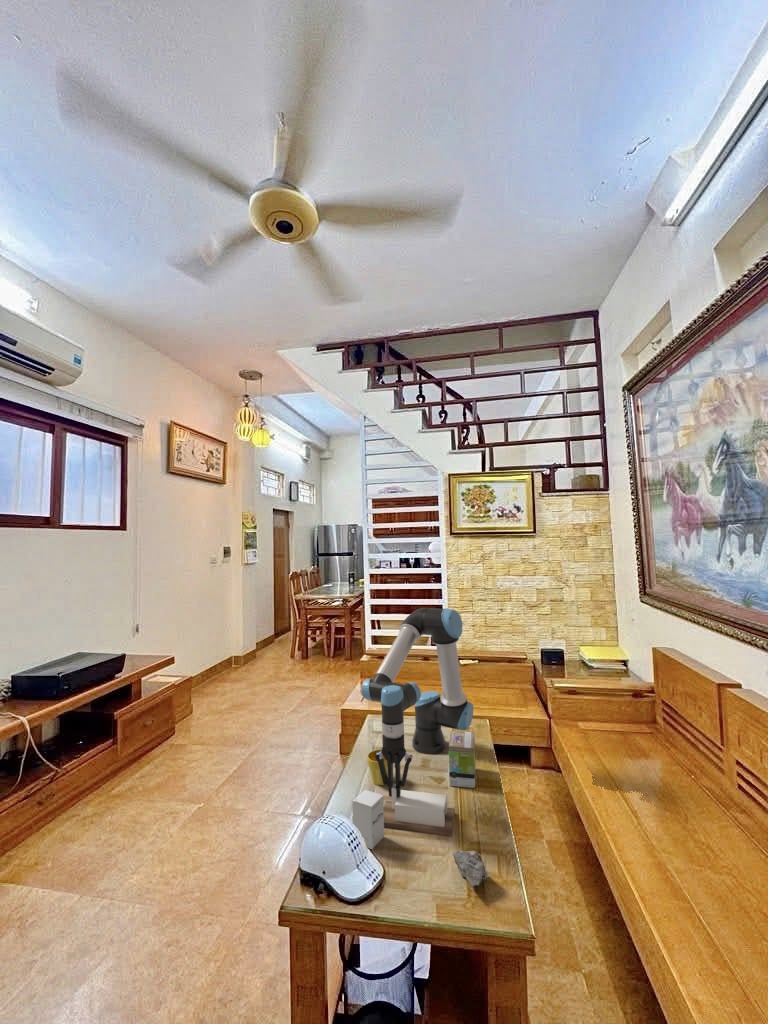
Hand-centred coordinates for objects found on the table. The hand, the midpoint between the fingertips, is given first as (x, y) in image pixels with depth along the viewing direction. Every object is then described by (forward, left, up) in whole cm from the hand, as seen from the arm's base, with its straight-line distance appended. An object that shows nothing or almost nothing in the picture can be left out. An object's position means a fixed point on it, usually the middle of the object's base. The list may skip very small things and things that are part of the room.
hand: (395, 806), depth 148 cm
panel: (0, +9, -2) cm, 9 cm away
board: (0, +7, -3) cm, 8 cm away
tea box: (-30, +20, -4) cm, 36 cm away
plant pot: (-21, -11, -4) cm, 24 cm away
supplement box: (+13, -6, -4) cm, 15 cm away
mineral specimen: (+24, +27, -4) cm, 36 cm away
